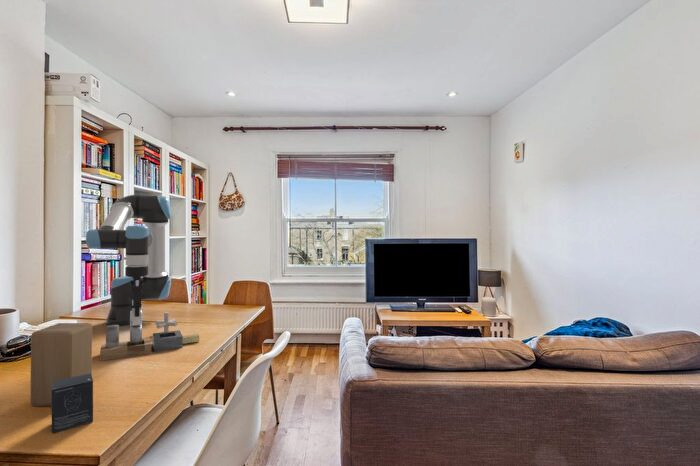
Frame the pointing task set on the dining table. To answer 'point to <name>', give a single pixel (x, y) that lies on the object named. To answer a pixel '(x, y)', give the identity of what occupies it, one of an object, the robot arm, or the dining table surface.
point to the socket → (167, 340)
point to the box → (72, 402)
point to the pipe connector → (166, 322)
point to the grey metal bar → (135, 331)
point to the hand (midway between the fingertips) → (136, 320)
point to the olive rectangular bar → (190, 338)
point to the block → (58, 357)
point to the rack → (121, 346)
